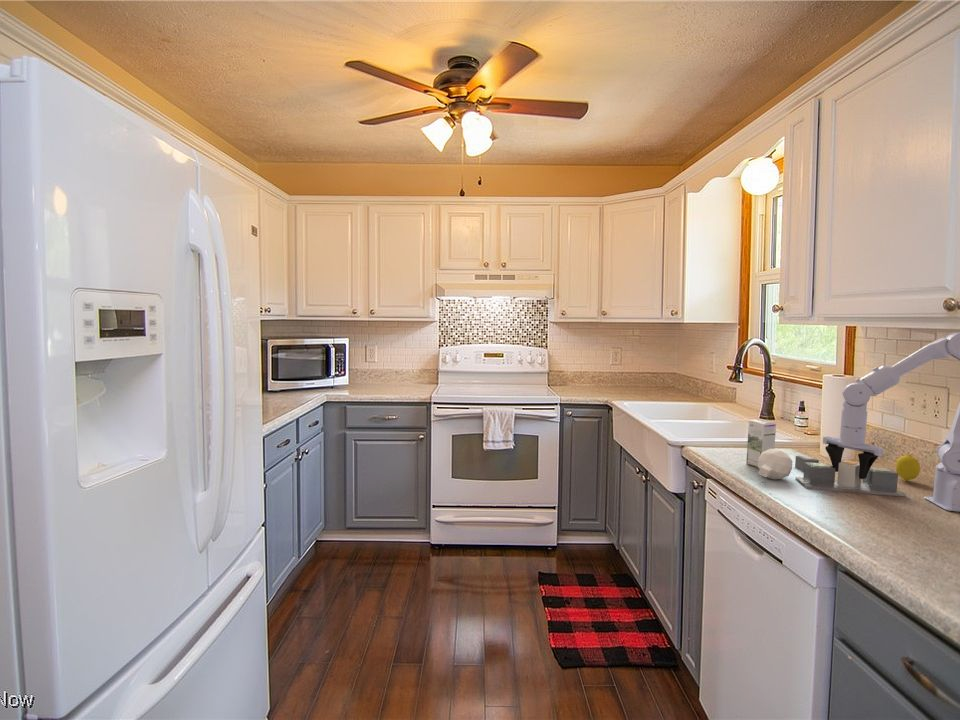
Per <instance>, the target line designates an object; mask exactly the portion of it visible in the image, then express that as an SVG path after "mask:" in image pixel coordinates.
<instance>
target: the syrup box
mask: <svg viewBox="0 0 960 720" xmlns="http://www.w3.org/2000/svg"><path fill="white" fill-rule="evenodd" d="M776 433H777V422H775V421H771V420H765V419H761V418H755V419H749V420H748V428H747V446H746V465H749V466H752V467H755V468H758V459H759V457H760V455H761V453H762V452H764V451H766V450H768V449H776V448H775V446H776Z"/></svg>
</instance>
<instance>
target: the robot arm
mask: <svg viewBox="0 0 960 720" xmlns="http://www.w3.org/2000/svg"><path fill="white" fill-rule="evenodd" d="M950 356H951V357H952V358H954V359H955V360H956V359H957V361H959V362H960V331H954V332H951V333H949V334H947V335H946V336H945V337H941V338H938V339H936V340H934V341H931V342H930V343H928V344H925V346H923V347H921V348H920V349H918V350H916V351H914V352H913V353H912V354H909V355H908V356H907V357H904V358H903V359H901V360H900V361H898V362H897V363H895V364H894V365H891V366H889V365H881V366H880V367H878V366H875V367H873V368H872V369H871V370H872V371H870V372H869V373H868V374H865V375H863V376H862V377H860V378H859V377H857V378H856V379H855V382H852V383H849V384H848V385H846V386H845V387H844V389H843V391H842V396H843V398H844V399H843V400H844V401H843V402H842V407H843V408H842V409H841V419H840V430H839V433H840V434H839V438H838V437H832V436H823V438H822V444H824V445H827V446H825V452H826V453H827V455H828V456H829V459H830V463H831V466H832V467H834V468H835V469H836V470H835V473H838V469H839V463H840V462H842V459H843V454H844V451H845V449H848V450H853V451H857V452H861V453H857V456H858V463H859V465H860V468H859V479H861V480H863V479H866V477H867V474H868V472H869V470H870V468H871V467H873V464H874V463H875V462H876V460H877V459H879V457H880V456H883V455H884V454H883V453H884V448H883V447H878V446H875V445H872V444H869V443H866V436H867V435H866V433H867V422H868V410H867V407H868V402H869V401H870V399H871V397H877V396H878V395H880V394H881V393H882V394H883V393H884V392H886V391H887V390H889V389H890V388H891V389H892V388H893V387H894V386H896V385H898V384H900V378H901V377H902V376H904V375H905V374H907V373H909V372H912V370H915V369H917V368H918V367H920V366H922V365H924V364H926V363H928V362H930V361H933V360H939V359H948V358H950ZM936 455H937V458H938V459H939V460H940V462H939V463H938V464H936V465H935V471H934V472H935V473H934V481H933V482H934V484H933V493H932V496H924V499H925V500H928V501H930V502H931V503H932V504H934V505H936V506H938V507H940V508H942V509H944V510H945V511H949V512H950V511H951V512H959V513H960V401H959V402H958V405H957V409H956V412H955V415H954V418H953V421H952V425H951V428H950V431H949V432H948V433H947V435H946V437H945V439H944V441H943V443H942V444H940V445H939V446H938V448H937V450H936Z"/></svg>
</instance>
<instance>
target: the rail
mask: <svg viewBox="0 0 960 720" xmlns="http://www.w3.org/2000/svg"><path fill="white" fill-rule="evenodd" d="M835 470H836V469H835V468H834V467H832V464H829V463H822V462H819V463H811V462H804V472H803V475H802V477H800V476H799V477H798V476H795V480H794V481H796V482H797V483H799V484H800V485H801V486H802V487H803V488H805V489H807V490H818V491H820V490H821V491H832V492H844V493H857V494H868V495H880V496H893V497H903V498H904V497H907V493H906V492H904V491H902V490H900V489H899V488H898V481H899V475H898V473H897V472H896V470H895V471H894V470H892V469H891V468H889V467H878V466H877V467H876V466H871V468H870V470H869V472H868V474H867V477H866V479H862V481H861V485H859V486H857V487H854V488H853V487H849V486H844V485H840V484H837V481H838V479H837V480H836V472H835Z"/></svg>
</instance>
